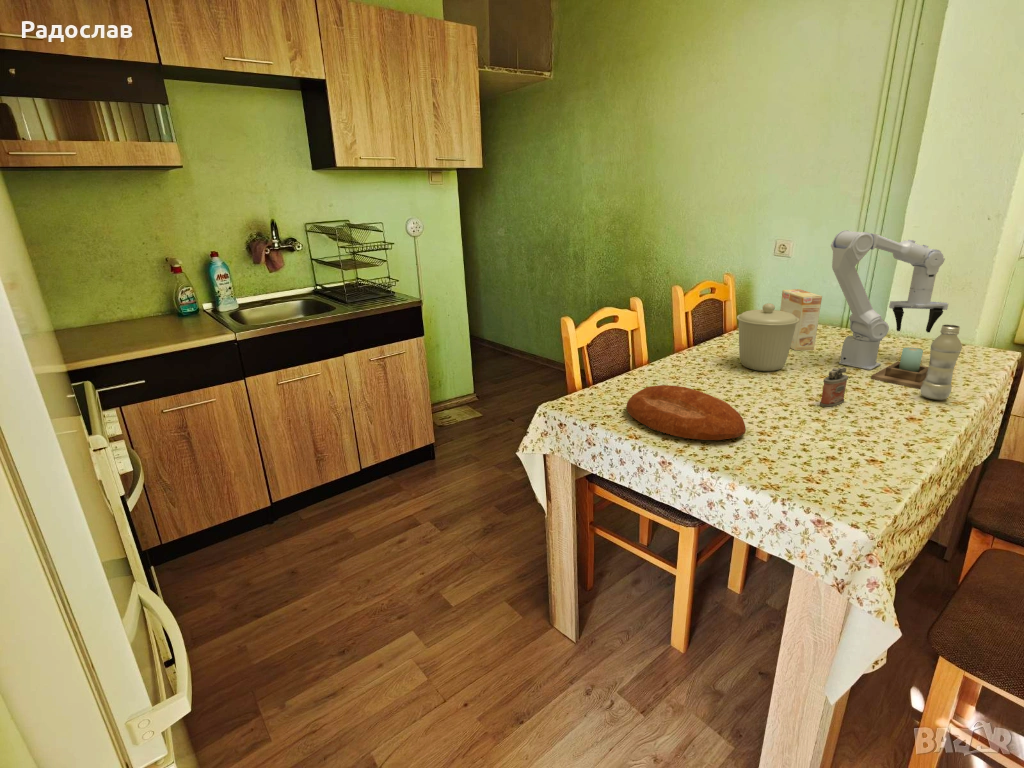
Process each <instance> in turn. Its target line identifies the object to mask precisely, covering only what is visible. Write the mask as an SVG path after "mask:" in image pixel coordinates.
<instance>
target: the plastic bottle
mask: <svg viewBox="0 0 1024 768" xmlns="http://www.w3.org/2000/svg"><path fill="white" fill-rule="evenodd" d="M960 329H961V327H960V326H959V325H956V324H942V325H941V329H940V331H939V332H940V335H938V336H937V337H935V338H934V339H933V341H932V342H931V344H930V351H929V352H930V353H929V360H928V366H927V367H928V370H927V373H926V376H925V379H924V381H923V383H922V385H921V389H920V394H921V396H922V397H924V398H926V399H930V400H935V401H944V400H947V399H948V398H949V397H950V395H951V393H952V382H953V375H954V371H955V367H956V364H957V361H958V358H959V356H960V354H961V351H962V350H963V345H962V342H961V340H960V338H959V336H958V335H960Z"/></svg>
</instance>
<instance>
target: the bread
mask: <svg viewBox="0 0 1024 768" xmlns="http://www.w3.org/2000/svg"><path fill="white" fill-rule="evenodd" d="M626 412H627V413H628V415H630V417H631V418H633V419H634V420H636V421H638V422H639V423H641V424H642V425H644V426H645V425H646V426H645V427H647V426H648V427H647V428H649V427H650V428H649V429H651V428H652V429H651V430H653V429H654V431H656V430H657V432H659V431H660V433H662V432H663V433H662V434H665V433H666V435H669V434H670V435H671V436H675V437H679V438H683V439H693V440H705V441H707V440H708V441H722V440H727V439H730V440H731V439H736V438H739V437H741V436H742V435H744V434H746V432H747V428H746V424H745V420H744V418H743V416H742V415H741V414H740V413H739V412H738V411H737V410H736V409H735V408H734V407H733V406H731V404H729V403H728V402H726V401H724V400H722V399H720V398H717V397H715V396H713V395H710V394H708V393H705V392H703V391H700V390H696V389H693V388H689V387H686V386H680V385H679V386H678V385H667V384H666V385H665V384H662V385H661V384H660V385H653V386H652V385H651V386H649V385H648V386H647V387H644V388H642V389H640V390H639V391H638V392H636V393H634V394H632V395H631V397H630V398H629V399H628V400H627V403H626Z"/></svg>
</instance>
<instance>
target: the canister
mask: <svg viewBox="0 0 1024 768" xmlns="http://www.w3.org/2000/svg"><path fill="white" fill-rule="evenodd" d="M775 308H776V307H775V305H774V304H773V303H769V302H768V303H765V304H763V305H762V309H751V310H746V311H744V312H742V313H740V314H738V315H736V319H737V320H738V351H739V354H738V355H739V360H740V363H741V365H742V366H744V367H745V368H747V369H750V370H752V371H759V372H772V371H779V370H780V369H782V368H783V367H785V365H786V363H787V359H788V357H789V353H790V349H791V348H790V346H791V343H792V339H793V335H794V331H795V327H796V323H798V322H799V318H797V317H795V316H794V315H793V314H791V313H788V312H784V311H780V310H778V309H777V310H776V309H775Z"/></svg>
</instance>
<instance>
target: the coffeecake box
mask: <svg viewBox="0 0 1024 768" xmlns="http://www.w3.org/2000/svg"><path fill="white" fill-rule="evenodd" d="M781 292H782V293H781V300H780V301H781V302H780V307H779V308H780V309H779V311H784V312H788V313H791V314H793V315H794V316H795V317H797V318H799V322H798V323H796V327H795V331H794V335H793V339H792V343H791V346H790V349H792V350H794V351H814V350H815V344H816V338H817V332H818V325H819V321H820V320H819V318H820V313H821V305H822V301H823V299H822V298H823V295H820V294H818V293H817V294H816V293H813V292H810V291H807V290H803V289H799V288H797V289H795V288H794V289H782V291H781Z"/></svg>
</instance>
